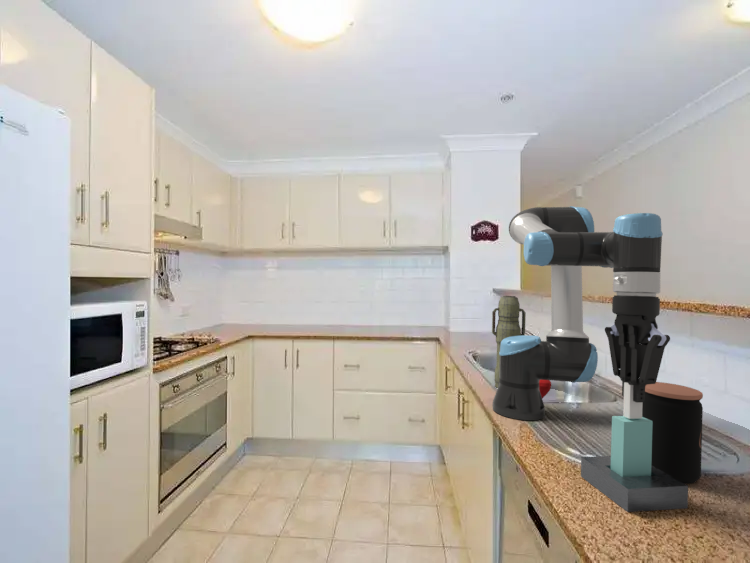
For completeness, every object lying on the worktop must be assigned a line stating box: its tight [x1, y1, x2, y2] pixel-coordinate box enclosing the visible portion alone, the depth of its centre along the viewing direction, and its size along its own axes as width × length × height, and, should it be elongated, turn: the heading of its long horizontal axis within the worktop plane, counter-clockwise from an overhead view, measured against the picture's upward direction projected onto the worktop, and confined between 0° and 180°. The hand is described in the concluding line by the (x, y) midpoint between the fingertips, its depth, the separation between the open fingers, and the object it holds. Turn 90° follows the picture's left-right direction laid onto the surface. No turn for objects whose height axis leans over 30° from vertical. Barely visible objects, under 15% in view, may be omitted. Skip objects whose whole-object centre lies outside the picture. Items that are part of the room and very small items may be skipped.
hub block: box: [580, 455, 689, 513], centre depth 72 cm, size 12×12×4 cm
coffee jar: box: [642, 381, 704, 485], centre depth 80 cm, size 11×11×18 cm
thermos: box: [491, 295, 526, 389], centre depth 142 cm, size 9×12×35 cm
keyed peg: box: [610, 415, 653, 477], centre depth 72 cm, size 6×3×14 cm, turn 98°
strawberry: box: [539, 380, 552, 400], centre depth 130 cm, size 6×8×10 cm
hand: (632, 417), depth 72 cm, fingers closed
